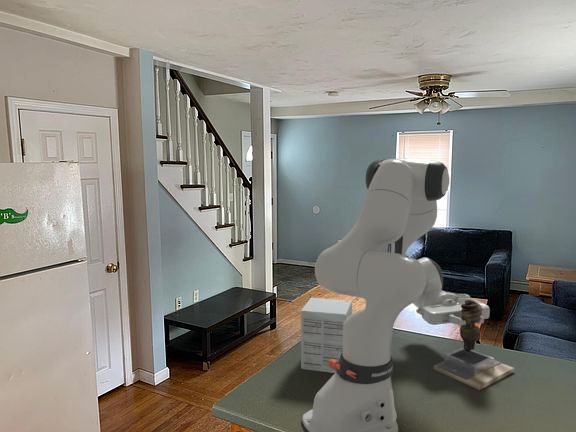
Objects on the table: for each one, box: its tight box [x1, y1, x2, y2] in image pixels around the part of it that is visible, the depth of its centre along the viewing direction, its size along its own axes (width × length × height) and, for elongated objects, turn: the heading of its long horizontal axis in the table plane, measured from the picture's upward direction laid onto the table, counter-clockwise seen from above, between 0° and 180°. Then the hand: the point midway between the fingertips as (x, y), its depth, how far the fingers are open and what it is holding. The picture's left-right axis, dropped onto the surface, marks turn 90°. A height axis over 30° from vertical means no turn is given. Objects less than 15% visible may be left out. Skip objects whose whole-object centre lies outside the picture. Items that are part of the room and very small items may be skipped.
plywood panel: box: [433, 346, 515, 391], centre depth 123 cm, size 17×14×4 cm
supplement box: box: [300, 297, 353, 374], centre depth 128 cm, size 13×13×18 cm
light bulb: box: [459, 300, 482, 352], centre depth 123 cm, size 6×6×15 cm
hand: (472, 321), depth 122 cm, fingers closed on light bulb, 4 cm apart
